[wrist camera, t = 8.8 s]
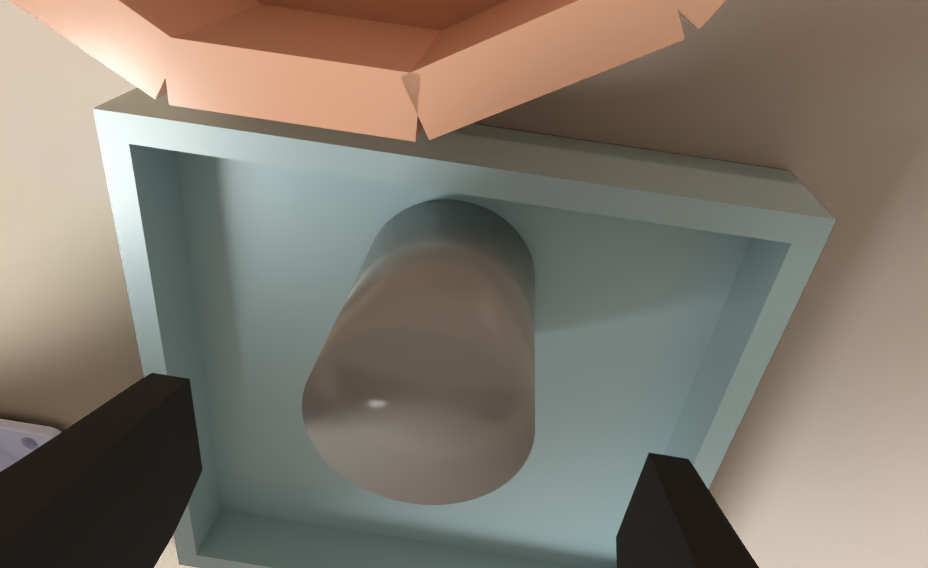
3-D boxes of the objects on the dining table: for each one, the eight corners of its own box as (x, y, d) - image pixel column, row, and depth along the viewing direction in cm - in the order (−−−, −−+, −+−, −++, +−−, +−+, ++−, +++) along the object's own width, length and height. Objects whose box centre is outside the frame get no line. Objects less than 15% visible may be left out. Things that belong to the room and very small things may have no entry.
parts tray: (214, 498, 21) (179, 564, 19) (159, 77, 14) (92, 108, 12) (626, 564, 21) (636, 639, 19) (790, 170, 14) (836, 219, 12)
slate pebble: (364, 331, 16) (303, 486, 12) (370, 187, 14) (299, 311, 10) (519, 356, 16) (514, 520, 12) (550, 213, 14) (556, 350, 10)
